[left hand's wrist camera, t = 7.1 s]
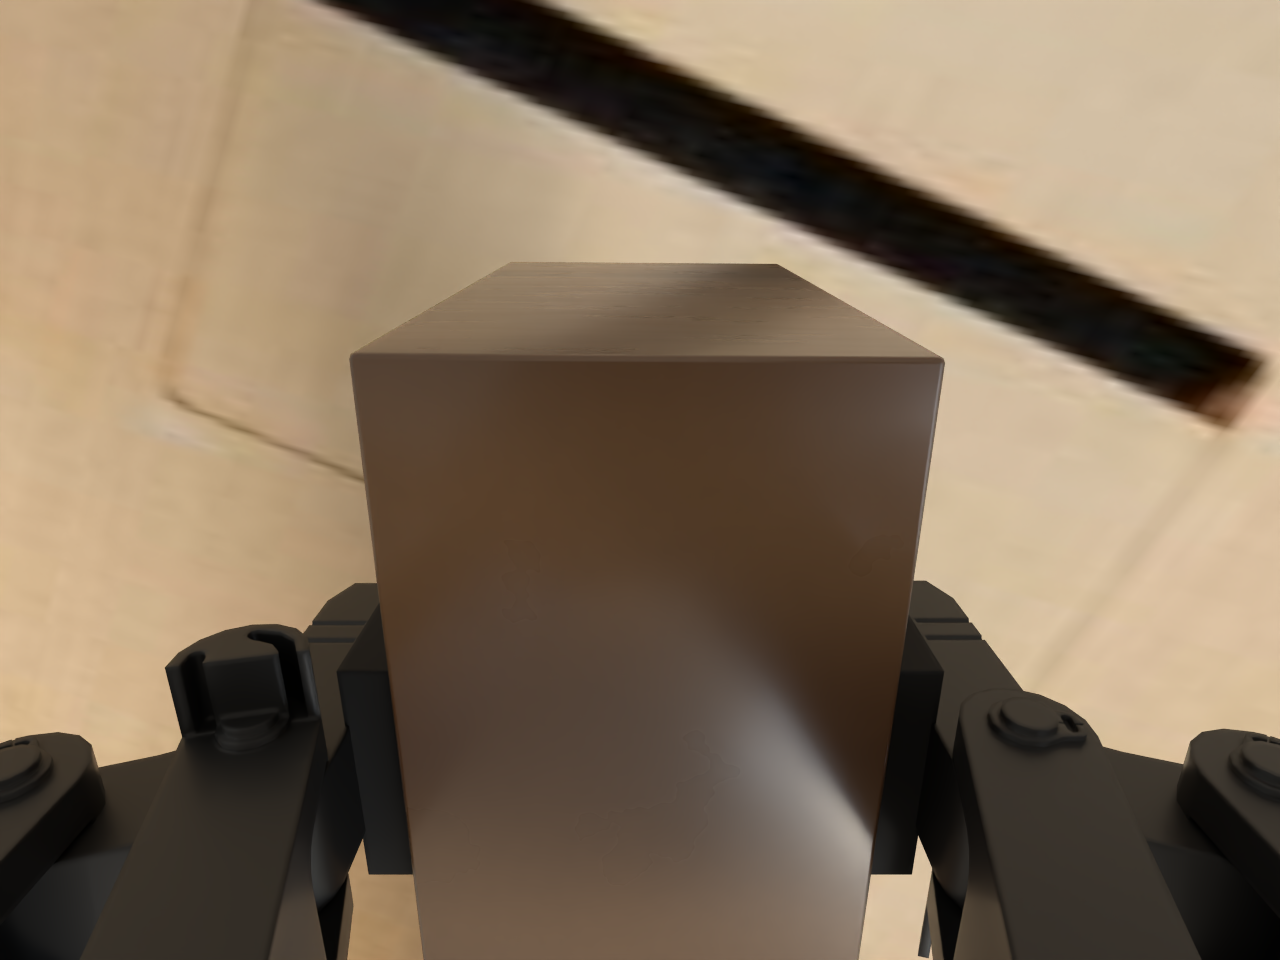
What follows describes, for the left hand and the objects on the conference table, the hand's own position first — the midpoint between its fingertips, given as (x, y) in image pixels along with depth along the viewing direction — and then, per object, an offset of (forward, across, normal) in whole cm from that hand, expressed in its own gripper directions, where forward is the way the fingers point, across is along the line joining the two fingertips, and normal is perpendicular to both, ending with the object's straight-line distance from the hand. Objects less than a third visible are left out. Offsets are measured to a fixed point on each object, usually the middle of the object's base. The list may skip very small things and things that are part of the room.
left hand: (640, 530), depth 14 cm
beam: (+1, 0, -32) cm, 32 cm away
